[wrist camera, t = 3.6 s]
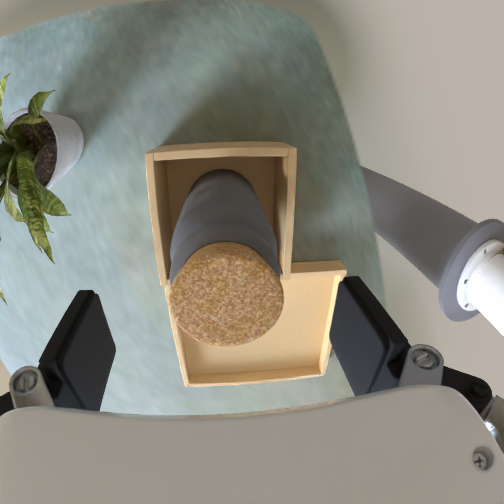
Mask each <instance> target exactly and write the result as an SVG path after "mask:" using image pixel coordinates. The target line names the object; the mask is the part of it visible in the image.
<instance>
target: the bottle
mask: <svg viewBox="0 0 504 504" xmlns="http://www.w3.org/2000/svg"><path fill="white" fill-rule="evenodd" d="M170 256H171V262H172V264H171V269H170V284H171V288H170V292H169V307H170V311H171V314H172V316H173V318H174V320H175V322H176V323H177V325H178V326H179V327H180V328H181V329H182V330H183V331H184V332H185V333H186V334H188V335H189V336H190V337H192V338H194V339H196V340H198V341H200V342H202V343H205V344H209V345H213V346H222V347H228V346H238V345H243V344H246V343H249V342H252V341H254V340H256V339H258V338H260V337H261V336H263V335H264V334H266V333H267V332H268V331H269V330H270V329H271V328H272V327H273V326H274V325H275V323H276V322H277V320H278V319H279V317H280V315H281V312H282V309H283V305H284V291H283V287H282V284H281V281H280V268H279V264H278V260H277V242H276V239H275V235H274V232H273V229H272V227H271V225H270V223H269V221H268V218H267V216H266V214H265V212H264V210H263V208H262V205H261V203H260V201H259V199H258V197H257V195H256V193H255V191H254V189H253V187H252V185H251V184H250V182H249V181H248V180H247V179H246V178H245V177H244V176H242V175H241V174H239V173H238V172H235V171H233V170H229V169H216V170H212V171H209V172H207V173H205V174H203V175H202V176H200V177H199V178H198V179H197V180H196V181H195V182H194V184H193V185H192V187H191V189H190V191H189V194H188V196H187V198H186V201H185V203H184V206H183V209H182V211H181V214H180V217H179V219H178V222H177V225H176V228H175V231H174V234H173V238H172V242H171V249H170Z"/></svg>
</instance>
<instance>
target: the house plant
mask: <svg viewBox="0 0 504 504" xmlns="http://www.w3.org/2000/svg"><path fill="white" fill-rule="evenodd" d="M10 74H11V73H10ZM10 74H8V75H7V76H5V77H4V78H3V79H2V81H1V82H0V183H1V185H0V202H1V200H2V198H3V196H4V203H5V209H6V211H7V212H9V213H10V215H11V216H12V217H13V218H14V219H15V220H16V221H20V222H25V223H26V222H27V223H26V224H27V226H28V229H29V232H30V234H31V236H32V238H33V241H34V243H35V244H36V246H37V247H38V248H39V249H40V250H41V248H40V245H41V246H42V248H43V250H44V251H45V253H46V254H47V256H48V257H49V259H50V260H51V261H52V262H53V259H52V252H51V247H50V244H49V242H48V239H47V236H46V232H51V233H54V232H52V231H51V230H50V228H49V225H48V222H47V219H46V218H45V216H44V213H43V211H44V212H45V213H46V214H49V215H52V216H68V215H70V214H68V213H67V211H66V208H65V206H64V204H63V203H62V202H61V201H60V199H59V198H58V197H57V196H55V195H54V194H53V193H52V192H51V191H49V190H48V189H49V188H50V187H51V186H52V185H53V184H55V183H56V182H57V181H58V180H59V179H60V178H61V177H62V176H63V175H64V174H65V173H66V172H68V171H69V170H70V169H71V168H72V167H73V166H74V165H75V164H76V163H77V162H78V161H79V159H80V157H81V155H82V152H83V148H84V137H83V132H82V130H81V127H80V126H79V125H78V123H77V122H76V121H75V120H73V119H72V118H69V117H65V116H62V115H58V114H54V113H51V112H47V111H43V110H41V108H42V106H43V103H44V101H45V100H46V98H47V97H48V95H49V94H50V93H51V92H53V91H55V90H53V91H49V92H38V93H37V94H36V95H34V96H33V98H32V99H31V100H30V103H29V106H28V108H23V109H20V110H18V111H16V112H14V113H13V114H12V115H11V116H10V117H9V118H8V119H7V120H6V121H5V122H3V118H2V113H1V103H2V99H3V95H4V92H5V86H6V81H7V78H8V76H9V75H10ZM10 194H11V195H12V196H13V197H16V198H18V204H19V207H20V210H21V212H22V214H23V216H22V215H21V213H20V212H19V211H18V209H17V208H16V206H15V203H14V201H13V199H12V197H11V195H10ZM23 217H24V218H25V220H26V221H25V220H24V218H23ZM45 231H46V232H45ZM0 241H1V238H0ZM39 243H40V245H39ZM41 252H42V251H41ZM53 263H54V262H53ZM54 264H55V263H54ZM0 297H1V298H2V299H3V300H4V302H5V303H6V301H5V298H4V296H3V294H2V292H1V289H0ZM6 305H7V303H6Z"/></svg>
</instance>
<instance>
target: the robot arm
mask: <svg viewBox="0 0 504 504" xmlns="http://www.w3.org/2000/svg"><path fill="white" fill-rule="evenodd" d="M457 300H458V303H459V305H460V306H461V307H462V308H463V309H464V310H467V311H473V310H476V309H478V310H479V311H480V312H481V313H482V314H483V315H484V316H485V317H486V318H487V319H488V320H489V321H490V322H491V323H492V324H493V325H494V326H495V327H496V328H497V329H498V331H499V332H500V333H501V334H502V335H503V336H504V243H502V242H501V241H499V240H497V239H492V240H489V241H487V242H485V243H483V244H482V245H481V246H480V247H479V248H478V249H477V250H476V251H475V252H474V253H473V254H472V256H471V257H470V258H469V260H468V262H467V263H466V265H465V267H464V269H463V271H462V273H461V276H460V279H459V282H458V286H457ZM329 340H330V343H331V345H332V347H333V349H334V351H335V353H336V356H337V358H338V360H339V362H340V364H341V366H342V368H343V371H344V373H345V375H346V377H347V379H348V381H349V384H350V386H351V388H352V390H353V392H354V395H355V397H350V398H345V399H339V400H334V401H329V402H324V403H318V404H312V405H306V406H299V407H292V408H285V409H277V410H268V411H258V412H247V413H234V414H217V415H141V414H124V413H112V412H100V407H101V403H102V399H103V395H104V391H105V388H106V384H107V380H108V377H109V373H110V370H111V367H112V363H113V360H114V357H115V353H116V347H115V343H114V341H113V338H112V335H111V332H110V329H109V326H108V323H107V320H106V317H105V314H104V311H103V308H102V305H101V301H100V298H99V295H98V294H95V292H94V291H93V290H79V291H78V292H77V294H76V296H75V297H74V299H73V301H72V302H71V304H70V305H69V307H68V309H67V310H66V312H65V314H64V316H63V317H62V319H61V321H60V322H59V324H58V326H57V328H56V330H55V331H54V333H53V335H52V337H51V339H50V340H49V342H48V344H47V346H46V348H45V350H44V352H43V354H42V356H41V358H40V360H39V363H40V364H39V366H38V368H36V367H33V366H25V367H22V368H20V369H19V370H17V371H16V372H15V373H14V374H13V375H12V377H11V378H10V382H9V389H10V391H9V392H7V393H6V394H4V395H2V396H0V504H504V399H502V398H501V397H499V396H498V395H496V396H495V398H494V397H492V391H491V388H490V387H489V385H488V384H487V383H486V382H485V381H484V380H482V379H480V378H478V377H475V376H472V375H469V374H466V373H463V372H460V371H457V370H454V369H451V368H448V367H446V366H443V365H444V360H443V357H442V355H441V354H440V352H439V351H438V350H437V349H435V348H434V347H431V346H429V345H424V344H417V345H414V346H412V347H411V346H410V344H409V343H408V340H407V338H406V337H405V336H404V335H403V333H402V332H401V330H400V329H399V328H398V326H397V325H396V324H395V322H394V321H393V320H392V319H391V317H390V316H389V314H388V313H387V312H386V310H385V309H384V308H383V306H382V305H381V304H380V303H379V301H378V300H377V299H376V297H375V296H374V295H373V294H372V292H371V291H370V290H369V289H368V287H367V286H366V285H365V284H364V282H363V281H362V280H361V279H360V277H359V276H350V277H344V278H343V280H342V281H340V282H339V284H338V289H337V295H336V300H335V306H334V311H333V316H332V321H331V326H330V331H329Z"/></svg>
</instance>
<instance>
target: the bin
mask: <svg viewBox="0 0 504 504" xmlns="http://www.w3.org/2000/svg"><path fill="white" fill-rule="evenodd" d="M296 162H297V148H295V147H293V146H290V145H288V144H285V143H283V142H275V141H241V142H208V143H189V144H175V145H162V146H159V147H157V148H155V149H153V150H151V151H149V152H147V153H145V163H146V175H147V187H148V197H149V207H150V216H151V224H152V232H153V239H154V247H155V254H156V260H157V267H158V273H159V279H160V285H161V286H167V285H168V286H171V284H170V269H171V264H172V262H171V256H170V249H171V242H172V238H173V234H174V231H175V228H176V225H177V222H178V219H179V217H180V214H181V211H182V209H183V206H184V203H185V201H186V198H187V196H188V194H189V191H190V189H191V187H192V185H193V184H194V182H195V181H196V180H197V179H198V178H199V177H200V176H202V175H203V174H205V173H207V172H209V171H212V170H216V169H229V170H233V171H235V172H238V173H239V174H241V175H242V176H244V177H245V178H246V179H247V180H248V181H249V182H250V184H251V185H252V187H253V189H254V191H255V193H256V195H257V197H258V199H259V201H260V203H261V205H262V208H263V210H264V212H265V214H266V216H267V218H268V221H269V223H270V225H271V227H272V229H273V232H274V235H275V239H276V242H277V260H278V264H279V268H280V280H290V273H291V258H292V243H293V227H294V208H295V187H296Z"/></svg>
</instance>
